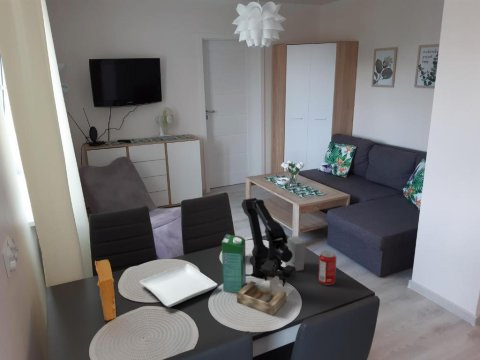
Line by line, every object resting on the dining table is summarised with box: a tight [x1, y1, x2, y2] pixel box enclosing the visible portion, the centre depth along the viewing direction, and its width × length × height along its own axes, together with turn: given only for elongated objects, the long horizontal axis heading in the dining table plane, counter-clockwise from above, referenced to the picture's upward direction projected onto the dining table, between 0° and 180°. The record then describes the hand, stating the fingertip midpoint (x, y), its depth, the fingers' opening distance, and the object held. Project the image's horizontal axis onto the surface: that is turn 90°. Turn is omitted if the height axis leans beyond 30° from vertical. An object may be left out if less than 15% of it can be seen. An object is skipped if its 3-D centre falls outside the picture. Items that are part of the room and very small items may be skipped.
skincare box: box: [284, 235, 307, 272], centre depth 193 cm, size 8×7×16 cm
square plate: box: [139, 263, 218, 308], centre depth 178 cm, size 27×27×4 cm
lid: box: [257, 275, 294, 298], centre depth 175 cm, size 15×10×6 cm, turn 56°
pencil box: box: [236, 280, 287, 317], centre depth 165 cm, size 18×12×5 cm, turn 56°
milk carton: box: [221, 233, 247, 293], centre depth 175 cm, size 9×9×25 cm
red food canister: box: [318, 250, 337, 286], centre depth 179 cm, size 8×8×15 cm
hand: (274, 283), depth 175 cm, fingers open, 9 cm apart
